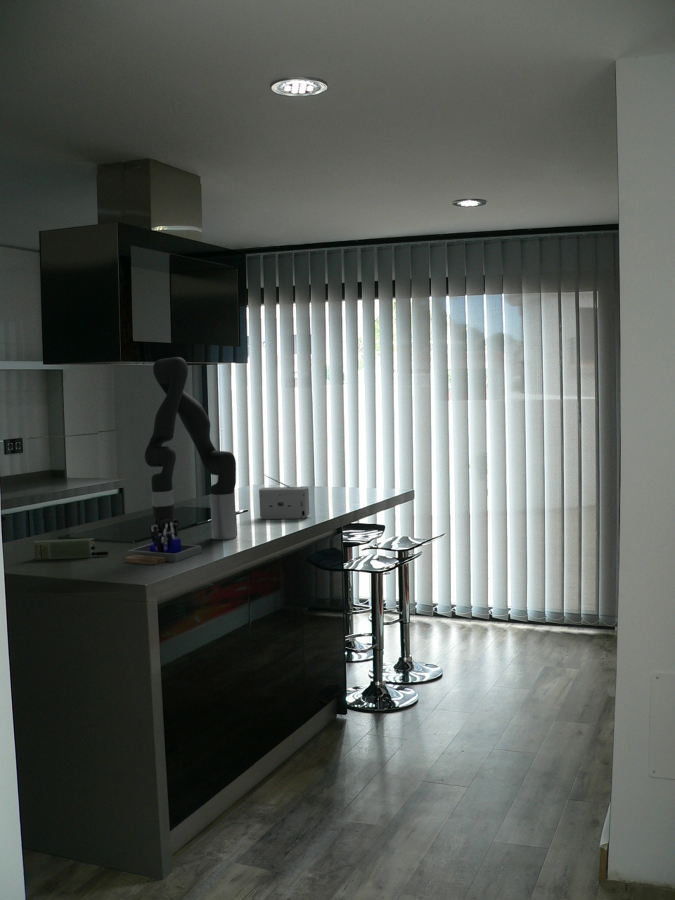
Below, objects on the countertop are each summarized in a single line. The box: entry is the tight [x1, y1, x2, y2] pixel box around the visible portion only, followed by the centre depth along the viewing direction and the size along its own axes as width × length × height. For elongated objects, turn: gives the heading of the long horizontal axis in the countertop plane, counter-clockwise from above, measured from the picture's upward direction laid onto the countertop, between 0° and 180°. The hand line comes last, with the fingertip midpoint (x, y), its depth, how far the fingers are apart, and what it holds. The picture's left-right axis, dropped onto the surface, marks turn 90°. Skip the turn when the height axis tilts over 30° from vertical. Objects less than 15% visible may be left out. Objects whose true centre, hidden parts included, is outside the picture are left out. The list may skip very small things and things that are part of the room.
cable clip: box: [150, 536, 182, 554], centre depth 297 cm, size 12×4×6 cm, turn 47°
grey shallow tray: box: [126, 542, 203, 563], centre depth 297 cm, size 15×20×2 cm
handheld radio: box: [33, 538, 109, 561], centre depth 298 cm, size 7×3×25 cm
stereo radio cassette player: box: [258, 474, 310, 520], centre depth 366 cm, size 21×8×20 cm, turn 84°
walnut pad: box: [124, 555, 166, 565], centre depth 287 cm, size 5×13×2 cm, turn 64°
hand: (166, 551), depth 298 cm, fingers closed on cable clip, 5 cm apart
